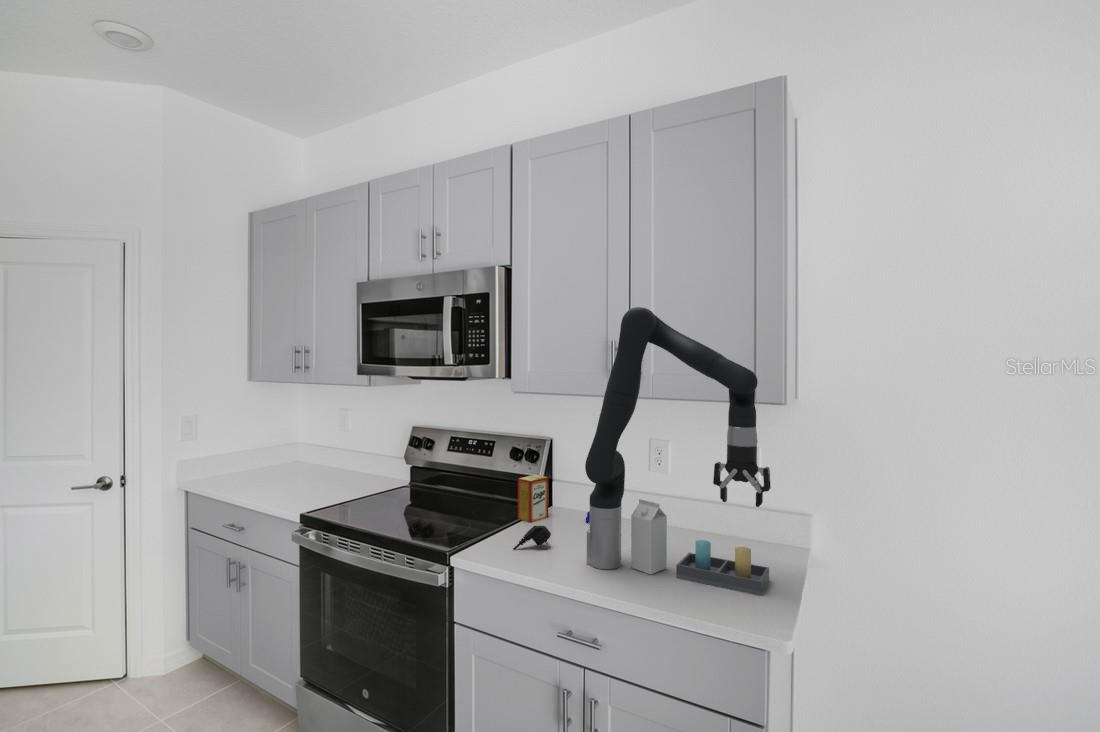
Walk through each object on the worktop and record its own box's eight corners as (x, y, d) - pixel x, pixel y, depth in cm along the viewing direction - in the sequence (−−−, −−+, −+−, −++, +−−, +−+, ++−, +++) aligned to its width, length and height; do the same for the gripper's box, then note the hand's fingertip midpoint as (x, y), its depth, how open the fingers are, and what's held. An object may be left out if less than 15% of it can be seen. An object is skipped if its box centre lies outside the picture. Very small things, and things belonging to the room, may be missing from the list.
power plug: (510, 544, 172) (539, 518, 175) (524, 562, 173) (553, 536, 176) (513, 550, 167) (543, 523, 169) (528, 568, 168) (558, 541, 170)
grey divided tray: (676, 577, 148) (676, 564, 148) (688, 564, 158) (688, 552, 158) (761, 595, 137) (761, 581, 137) (769, 580, 146) (769, 567, 146)
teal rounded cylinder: (693, 572, 149) (693, 543, 149) (697, 567, 153) (697, 539, 153) (708, 575, 147) (708, 545, 147) (712, 570, 151) (712, 541, 151)
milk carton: (646, 562, 160) (647, 497, 160) (666, 569, 154) (667, 501, 154) (631, 568, 155) (631, 501, 155) (651, 575, 150) (651, 506, 150)
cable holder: (585, 524, 198) (585, 513, 198) (589, 521, 201) (589, 511, 201) (606, 527, 194) (606, 516, 194) (609, 524, 198) (609, 513, 198)
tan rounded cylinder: (733, 580, 144) (733, 550, 144) (736, 575, 147) (736, 545, 147) (749, 583, 142) (749, 552, 142) (752, 578, 145) (752, 548, 145)
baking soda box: (530, 524, 197) (530, 480, 197) (517, 520, 202) (517, 477, 201) (548, 518, 204) (548, 476, 204) (535, 515, 208) (536, 473, 208)
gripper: (711, 442, 146) (710, 503, 146) (767, 447, 138) (766, 511, 138) (718, 439, 152) (717, 497, 152) (772, 443, 145) (772, 504, 145)
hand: (741, 503), depth 145 cm, fingers open, 8 cm apart
